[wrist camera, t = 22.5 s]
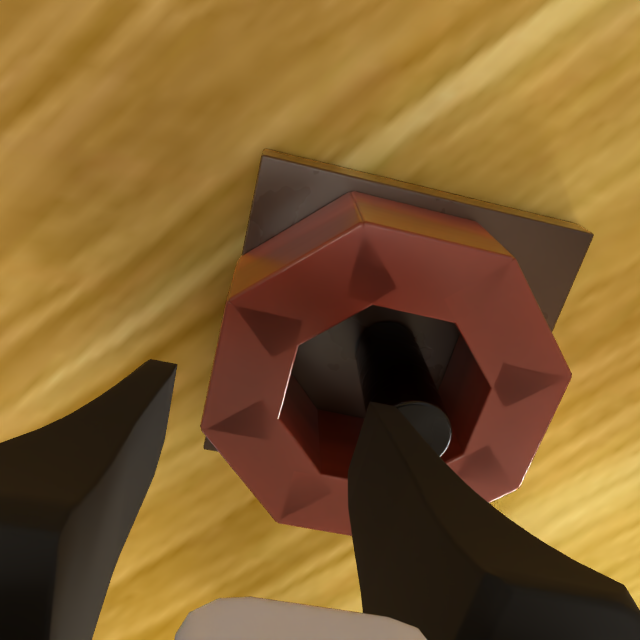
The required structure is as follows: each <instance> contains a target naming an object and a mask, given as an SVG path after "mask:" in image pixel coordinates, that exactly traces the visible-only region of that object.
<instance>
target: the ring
mask: <svg viewBox="0 0 640 640" xmlns="http://www.w3.org/2000/svg"><path fill="white" fill-rule="evenodd" d="M371 305H376V306H381V307H385V308H390V309H394V310H399V311H403V312H407V313H412V314H416V315H421V316H425V317H430V318H434V319H439V320H443V321H448V322H452V323H454V324H455V326H456V328H457V330H458V332H459V333H460V335H459V338H458V340H457V343H456V346H455V348H454V351H453V354H452V356H451V359H450V362H449V364H448V367H447V369H446V372H445V375H444V377H443V380H442V383H441V385H440V388H439V391H438V393H439V395H440V398H441V400H442V403H443V405H444V407H445V410H446V412H447V415H448V417H449V419H450V422H451V426H452V437H451V441H450V444H449V446H448V448H447V450H446V451H445V452H444V454H443V455H442V456H441V457H440V458H441V459H442V460H443V461H444V462H445V463H446V464H447V465H448V466H449V467H450V468H451V469H452V470H453V471H454V472H455V473H456V474H457V475H458V476H459V477H460V478H461V479H462V480H463V481H464V482H465V483H466V484H467V485H468V486H470V487H471V488H472V489H473V490H474V491H475V492H476V493H477V494H479V495H480V496H481V497H482V498H483V499H485V500H486V501H487V502H488V503H490V502H492V501H494V500H496V499H498V498H500V497H502V496H505V495H507V494H509V493H511V492H513V491H515V490H516V489H519V488H520V486H521V483H522V481H523V479H524V477H525V475H526V473H527V471H528V469H529V467H530V464H531V462H532V460H533V458H534V456H535V454H536V452H537V450H538V447H539V445H540V443H541V441H542V439H543V437H544V435H545V433H546V431H547V428H548V426H549V424H550V422H551V420H552V418H553V416H554V414H555V411H556V409H557V407H558V405H559V403H560V401H561V399H562V397H563V395H564V392H565V390H566V388H567V386H568V384H569V382H570V380H571V376H572V373H571V371H570V369H569V367H568V365H567V363H566V361H565V359H564V357H563V355H562V353H561V351H560V348H559V346H558V344H557V342H556V340H555V338H554V336H553V334H552V332H551V330H550V328H549V326H548V324H547V322H546V320H545V318H544V315H543V313H542V311H541V309H540V307H539V305H538V303H537V301H536V299H535V297H534V295H533V293H532V291H531V289H530V287H529V285H528V282H527V280H526V278H525V276H524V274H523V272H522V270H521V268H520V266H519V264H518V262H517V260H516V258H515V257H514V256H513V255H512V254H510V253H509V252H508V251H507V250H506V249H505V248H504V247H503V246H502V245H501V244H500V243H499V242H498V241H497V240H496V239H495V238H494V237H493V236H492V235H490V234H489V233H488V232H487V231H486V230H485V229H484V228H483V227H482V226H481V225H480V224H479V223H477V222H476V221H472V220H468V219H464V218H460V217H456V216H452V215H448V214H444V213H440V212H436V211H432V210H428V209H424V208H420V207H416V206H412V205H408V204H404V203H400V202H396V201H391V200H387V199H383V198H379V197H375V196H371V195H367V194H363V193H359V192H355V191H353V192H348V193H346V194H345V195H343V196H341V197H340V198H338V199H336V200H335V201H333V202H331V203H330V204H328V205H326V206H325V207H323V208H321V209H320V210H318V211H316V212H315V213H313V214H311V215H310V216H308V217H306V218H305V219H303V220H301V221H300V222H298V223H296V224H295V225H293V226H291V227H289V228H288V229H286V230H284V231H283V232H281V233H279V234H278V235H276V236H274V237H273V238H271V239H269V240H268V241H266V242H264V243H263V244H261V245H259V246H258V247H256V248H254V249H253V250H251V251H249V252H248V253H246V254H244V255H243V256H241V257H240V258H239V259H238V261H237V264H236V268H235V271H234V275H233V278H232V282H231V286H230V289H229V293H228V296H227V300H226V304H225V309H224V313H223V318H222V323H221V328H220V333H219V338H218V342H217V347H216V352H215V357H214V362H213V367H212V372H211V376H210V381H209V386H208V391H207V396H206V401H205V405H204V410H203V415H202V420H201V425H200V427H201V430H202V432H203V433H204V434H205V436H206V437H207V438H208V439H209V441H210V442H211V443H212V444H213V445H214V447H215V448H216V449H217V450H218V452H219V453H220V454H221V455H222V456H223V458H224V459H225V460H226V461H227V463H228V464H229V465H230V466H231V467H232V469H233V470H234V471H235V472H236V474H237V475H238V476H239V477H240V478H241V480H242V481H243V482H244V483H245V485H246V486H247V487H248V488H249V489H250V491H251V492H252V493H253V494H254V496H255V497H256V498H257V499H258V500H259V502H260V503H261V504H262V505H263V507H264V508H265V509H266V510H267V512H268V513H269V514H270V515H271V516H272V518H273V519H274V520H275V521H276V522H278V523H280V524H286V525H291V526H297V527H303V528H309V529H315V530H321V531H326V532H332V533H338V534H344V535H350V536H352V532H351V525H350V518H349V511H348V469H349V466H350V463H351V460H352V456H353V453H354V450H355V447H356V444H357V441H358V437H359V434H360V431H361V428H362V425H363V422H364V418H359V417H353V416H348V415H343V414H338V413H333V412H328V411H323V410H318V409H316V407H315V406H314V404H313V403H312V401H311V400H310V399H309V397H308V396H307V394H306V393H305V392H304V390H303V389H302V387H301V386H300V385H299V383H298V382H297V380H296V379H295V377H294V376H293V375H292V373H291V372H292V369H293V365H294V361H295V357H296V353H297V350H298V346H299V345H301V344H303V343H304V342H306V341H308V340H310V339H312V338H313V337H315V336H317V335H319V334H321V333H322V332H324V331H326V330H328V329H330V328H331V327H333V326H335V325H337V324H339V323H340V322H342V321H344V320H346V319H348V318H349V317H351V316H353V315H355V314H357V313H358V312H360V311H362V310H364V309H366V308H368V307H369V306H371Z"/></svg>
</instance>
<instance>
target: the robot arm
mask: <svg viewBox="0 0 640 640" xmlns="http://www.w3.org/2000/svg"><path fill="white" fill-rule="evenodd" d="M176 370H177V364H173V363H168V362H162V361H157V360H152V359H150V360H148V361H147V362H145V363H144V364H142V365H141V366H140V367H139V368H137V369H136V370H135V371H134V372H132V373H131V374H130V375H128V376H127V377H126V378H124V379H123V380H122V381H120V382H119V383H118V384H116V385H115V386H113V387H112V388H111V389H109V390H108V391H106V392H105V393H103V394H102V395H101V396H99V397H98V398H96V399H94V400H93V401H91V402H89V403H88V404H86V405H85V406H83V407H81V408H80V409H78V410H76V411H75V412H73V413H71V414H69V415H67V416H65V417H64V418H62V419H59V420H57V421H55V422H53V423H51V424H49V425H46V426H44V427H42V428H40V429H37V430H35V431H32V432H29V433H27V434H24V435H21V436H18V437H16V438H13V439H10V440H7V441H5V442H2V443H0V640H92V637H93V634H94V631H95V628H96V624H97V621H98V618H99V615H100V611H101V608H102V605H103V602H104V599H105V596H106V592H107V589H108V586H109V583H110V580H111V577H112V574H113V571H114V568H115V566H116V563H117V561H118V558H119V555H120V553H121V551H122V548H123V546H124V544H125V542H126V539H127V537H128V535H129V532H130V530H131V528H132V526H133V523H134V521H135V519H136V516H137V514H138V512H139V509H140V507H141V505H142V503H143V500H144V498H145V496H146V493H147V491H148V489H149V486H150V484H151V482H152V479H153V477H154V474H155V471H156V468H157V464H158V461H159V457H160V454H161V450H162V447H163V443H164V440H165V435H166V429H167V423H168V417H169V411H170V405H171V399H172V393H173V387H174V381H175V376H176ZM348 511H349V518H350V525H351V532H352V538H353V545H354V551H355V558H356V564H357V570H358V577H359V583H360V590H361V598H362V607H363V613H358V612H352V611H345V610H338V609H331V608H324V607H318V606H311V605H304V604H297V603H290V602H283V601H277V600H270V599H263V598H256V597H233V598H219V599H216V600H214V601H212V602H210V603H208V604H206V605H204V606H202V607H200V608H198V609H196V610H194V611H192V612H190V613H189V614H188V615H187V617H186V619H185V620H184V622H183V623H182V625H181V626H180V628H179V630H178V631H177V633H176V635H175V640H640V610H639V608H638V607H637V605H636V603H635V602H634V600H633V598H632V597H631V595H630V594H629V592H628V590H627V589H626V587H625V586H624V585H623V584H621V583H619V582H617V581H615V580H613V579H611V578H609V577H607V576H605V575H603V574H601V573H599V572H597V571H595V570H593V569H591V568H588V567H586V566H584V565H582V564H580V563H578V562H577V561H575V560H573V559H571V558H570V557H568V556H566V555H564V554H563V553H561V552H559V551H557V550H556V549H554V548H552V547H551V546H549V545H547V544H546V543H544V542H542V541H541V540H539V539H538V538H536V537H535V536H533V535H531V534H530V533H529V532H527V531H526V530H524V529H523V528H521V527H520V526H519V525H517V524H516V523H514V522H513V521H511V520H510V519H509V518H507V517H506V516H505V515H503V514H502V513H501V512H499V511H498V510H497V509H495V508H494V507H493V506H492V505H491V504H489V503H488V502H487V501H486V500H485V499H483V498H482V497H481V496H480V495H479V494H477V493H476V492H475V491H474V490H473V489H472V488H471V487H470V486H468V485H467V484H466V483H465V482H464V481H463V480H462V479H461V478H460V477H459V476H458V475H457V474H456V473H455V472H454V471H453V470H452V469H451V468H450V467H449V466H448V465H447V464H446V463H445V462H444V461H443V460H442V459H441V458H440V456H439V455H438V454H437V453H436V452H435V451H434V450H433V449H432V448H431V446H430V445H429V444H428V443H427V442H426V441H425V440H424V439H423V437H422V436H421V435H420V434H419V433H418V432H417V430H416V429H415V428H414V427H413V426H412V425H411V423H410V422H409V421H408V420H407V419H406V418H405V416H404V415H403V414H402V413H401V412H400V411H399V410H398V409H397V408H396V407H395V406H391V405H386V404H381V403H375V402H370V403H369V406H368V409H367V412H366V415H365V419H364V422H363V425H362V428H361V431H360V434H359V437H358V441H357V444H356V447H355V450H354V453H353V456H352V460H351V463H350V466H349V469H348Z"/></svg>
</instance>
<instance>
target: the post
mask: <svg viewBox="0 0 640 640" xmlns="http://www.w3.org/2000/svg"><path fill="white" fill-rule="evenodd" d="M353 191H355V192H359V193H363V194H367V195H371V196H375V197H379V198H383V199H387V200H391V201H396V202H400V203H404V204H408V205H412V206H416V207H420V208H424V209H428V210H432V211H436V212H440V213H444V214H448V215H452V216H456V217H460V218H464V219H468V220H472V221H476V222H477V223H479V224H480V225H481V226H482V227H483V228H484V229H485V230H486V231H487V232H488V233H489V234H490V235H492V236H493V237H494V238H495V239H496V240H497V241H498V242H499V243H500V244H501V245H502V246H503V247H504V248H505V249H506V250H507V251H508V252H509V253H510V254H512V255H513V256H514V257H515V258H516V260H517V262H518V264H519V266H520V268H521V270H522V272H523V274H524V276H525V278H526V280H527V282H528V285H529V287H530V289H531V291H532V293H533V295H534V297H535V299H536V301H537V303H538V305H539V307H540V309H541V311H542V313H543V315H544V318H545V320H546V322H547V324H548V326H549V328H550V330H551V332H552V331H553V329H554V326H555V324H556V322H557V319H558V317H559V315H560V312H561V310H562V308H563V305H564V303H565V301H566V299H567V296H568V294H569V292H570V289H571V287H572V285H573V282H574V280H575V278H576V275H577V273H578V271H579V268H580V266H581V264H582V261H583V259H584V257H585V254H586V252H587V250H588V248H589V245H590V243H591V241H592V238H593V234H592V233H591V232H589V231H588V230H586V229H584V228H583V227H581V226H580V225H578V224H575V223H571V222H567V221H563V220H559V219H555V218H551V217H546V216H542V215H538V214H534V213H530V212H526V211H522V210H518V209H513V208H509V207H505V206H501V205H497V204H493V203H489V202H484V201H480V200H476V199H472V198H468V197H464V196H460V195H455V194H451V193H447V192H443V191H439V190H435V189H431V188H426V187H422V186H418V185H414V184H410V183H406V182H402V181H397V180H393V179H389V178H385V177H381V176H377V175H373V174H368V173H364V172H360V171H356V170H352V169H348V168H344V167H340V166H335V165H331V164H327V163H323V162H319V161H315V160H311V159H306V158H302V157H298V156H294V155H290V154H286V153H282V152H277V151H273V150H269V149H264V150H263V153H262V156H261V161H260V166H259V171H258V176H257V181H256V186H255V191H254V196H253V201H252V206H251V211H250V216H249V221H248V226H247V231H246V236H245V241H244V246H243V251H242V256H243V255H244V254H246V253H248V252H249V251H251V250H253V249H254V248H256V247H258V246H259V245H261V244H263V243H264V242H266V241H268V240H269V239H271V238H273V237H274V236H276V235H278V234H279V233H281V232H283V231H284V230H286V229H288V228H289V227H291V226H293V225H295V224H296V223H298V222H300V221H301V220H303V219H305V218H306V217H308V216H310V215H311V214H313V213H315V212H316V211H318V210H320V209H321V208H323V207H325V206H326V205H328V204H330V203H331V202H333V201H335V200H336V199H338V198H340V197H341V196H343V195H345V194H346V193H348V192H353ZM459 335H460V333H459V332H458V330H457V328H456V326H455V324H454V323H452V322H448V321H443V320H439V319H434V318H430V317H425V316H421V315H416V314H412V313H407V312H403V311H399V310H394V309H390V308H385V307H381V306H376V305H371V306H369V307H368V308H366V309H364V310H362V311H360V312H358V313H357V314H355V315H353V316H351V317H349V318H348V319H346V320H344V321H342V322H340V323H339V324H337V325H335V326H333V327H331V328H330V329H328V330H326V331H324V332H322V333H321V334H319V335H317V336H315V337H313V338H312V339H310V340H308V341H306V342H304V343H303V344H301V345H299V346H298V350H297V353H296V357H295V361H294V365H293V369H292V372H291V373H292V375H293V376H294V377H295V379H296V380H297V382H298V383H299V385H300V386H301V387H302V389H303V390H304V392H305V393H306V394H307V396H308V397H309V399H310V400H311V401H312V403H313V404H314V406H315V407H316V409H318V410H323V411H328V412H333V413H338V414H343V415H348V416H353V417H359V418H364V419H365V415H366V412H367V409H368V406H369V403H370V402H375V403H381V404H386V405H391V406H395V407H396V408H397V409H398V410H399V411H400V412H401V413H402V414H403V415H404V416H405V418H406V419H407V420H408V421H409V422H410V423H411V425H412V426H413V427H414V428H415V429H416V430H417V432H418V433H419V434H420V435H421V436H422V437H423V439H424V440H425V441H426V442H427V443H428V444H429V445H430V446H431V448H432V449H433V450H434V451H435V452H436V453H437V454H438V455H439V456H440V457H441V456H442V455H443V454H444V452H445V451H446V450H447V448H448V446H449V444H450V441H451V437H452V426H451V422H450V419H449V417H448V415H447V412H446V410H445V407H444V405H443V403H442V400H441V398H440V395H439V393H438V391H439V388H440V385H441V383H442V380H443V377H444V375H445V372H446V369H447V367H448V364H449V362H450V359H451V356H452V354H453V351H454V348H455V346H456V343H457V340H458V338H459ZM204 449H206V450H212V451H217V452H218V450H217V449H216V448H215V447H214V445H213V444H212V443H211V442H210V441H209V439H208V438H207V437H205V442H204Z"/></svg>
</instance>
